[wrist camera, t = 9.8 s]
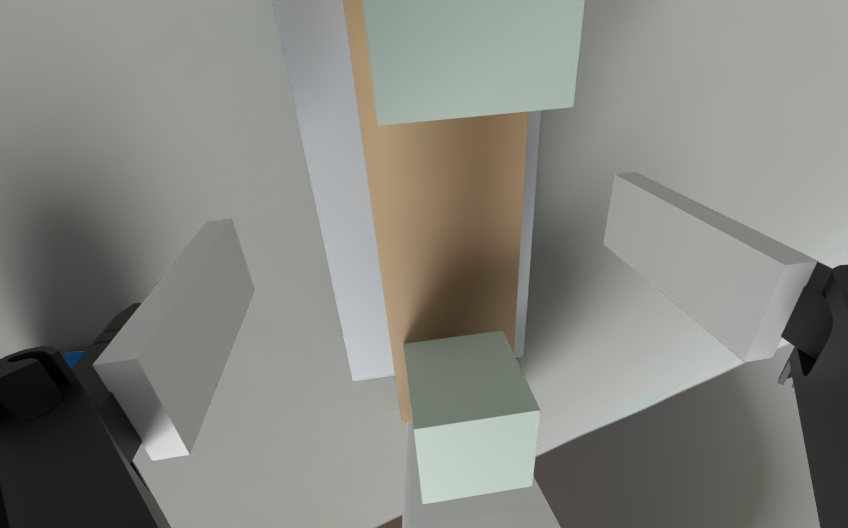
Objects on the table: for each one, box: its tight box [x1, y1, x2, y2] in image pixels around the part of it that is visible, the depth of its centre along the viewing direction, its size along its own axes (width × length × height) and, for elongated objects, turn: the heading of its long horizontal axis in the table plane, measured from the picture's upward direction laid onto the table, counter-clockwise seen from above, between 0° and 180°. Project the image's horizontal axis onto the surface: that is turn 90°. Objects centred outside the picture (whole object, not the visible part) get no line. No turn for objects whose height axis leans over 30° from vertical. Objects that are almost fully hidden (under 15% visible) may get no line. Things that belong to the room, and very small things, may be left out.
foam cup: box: [402, 422, 561, 528], centre depth 26 cm, size 10×9×13 cm
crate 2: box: [403, 330, 540, 504], centre depth 15 cm, size 4×4×4 cm
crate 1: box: [362, 0, 585, 126], centre depth 9 cm, size 4×4×4 cm
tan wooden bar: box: [343, 0, 528, 423], centre depth 16 cm, size 5×18×5 cm, turn 4°
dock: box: [273, 0, 541, 381], centre depth 20 cm, size 10×22×4 cm, turn 4°
